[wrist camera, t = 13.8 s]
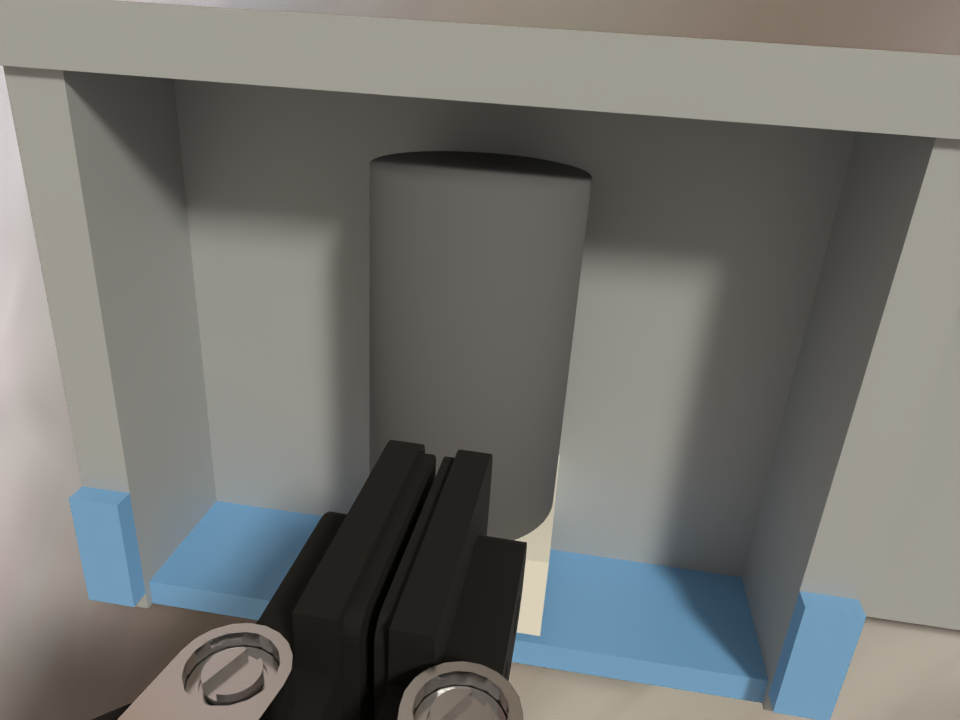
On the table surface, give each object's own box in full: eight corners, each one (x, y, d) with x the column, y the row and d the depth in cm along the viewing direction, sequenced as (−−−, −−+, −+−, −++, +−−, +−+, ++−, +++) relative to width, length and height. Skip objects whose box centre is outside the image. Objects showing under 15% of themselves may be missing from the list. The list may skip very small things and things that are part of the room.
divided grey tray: (1852, 116, 14) (2528, 157, 9) (1416, 672, 19) (1685, 881, 15) (141, 4, 18) (-33, -9, 13) (197, 496, 23) (92, 614, 18)
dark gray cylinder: (399, 145, 17) (335, 176, 13) (595, 161, 16) (593, 200, 12) (393, 506, 21) (343, 618, 17) (550, 529, 20) (538, 649, 16)
